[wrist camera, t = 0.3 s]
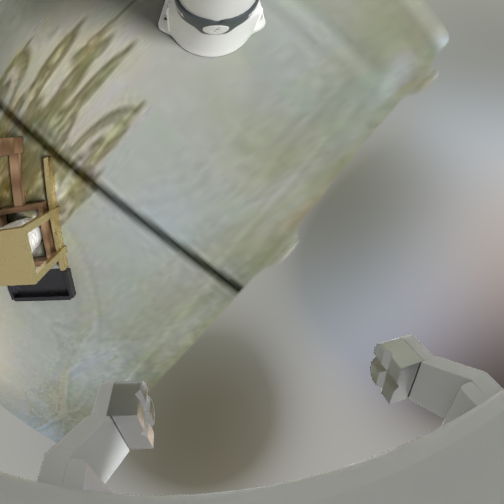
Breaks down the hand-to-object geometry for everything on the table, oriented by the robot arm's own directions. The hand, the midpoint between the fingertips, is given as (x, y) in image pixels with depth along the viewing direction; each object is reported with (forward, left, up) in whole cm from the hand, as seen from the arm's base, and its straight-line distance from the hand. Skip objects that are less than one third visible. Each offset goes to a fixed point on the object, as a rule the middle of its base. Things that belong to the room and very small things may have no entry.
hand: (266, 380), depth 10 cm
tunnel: (+6, -37, -47) cm, 60 cm away
